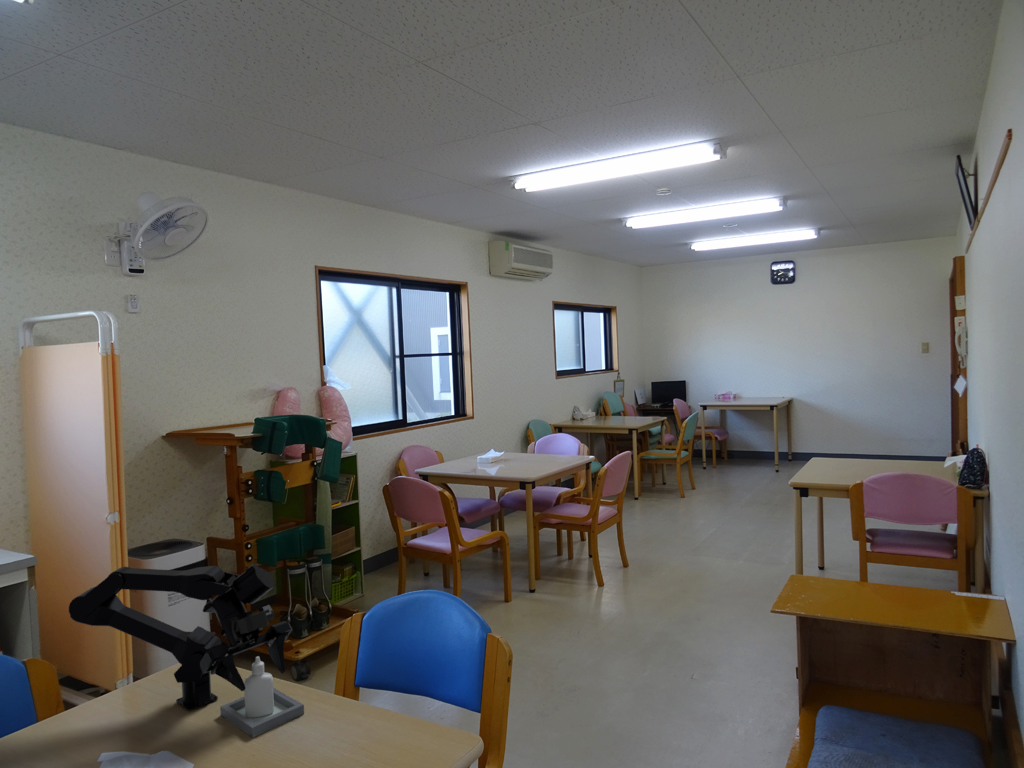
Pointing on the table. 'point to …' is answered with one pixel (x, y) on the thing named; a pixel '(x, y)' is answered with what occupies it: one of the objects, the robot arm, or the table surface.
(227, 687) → the table surface
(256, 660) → the eye dropper bottle
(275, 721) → the gray rectangular tray
